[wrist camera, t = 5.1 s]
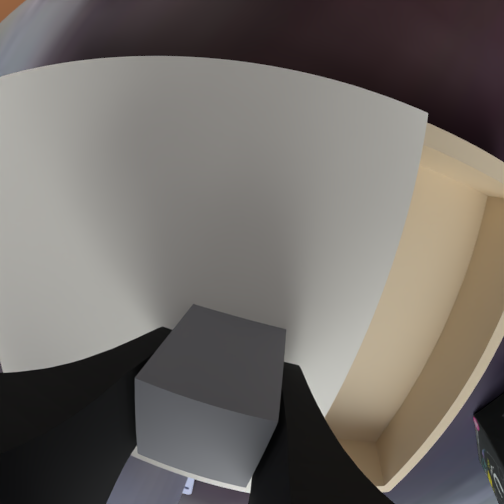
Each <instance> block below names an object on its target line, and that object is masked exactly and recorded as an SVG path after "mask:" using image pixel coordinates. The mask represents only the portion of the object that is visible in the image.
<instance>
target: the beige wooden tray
mask: <svg viewBox="0 0 504 504" xmlns="http://www.w3.org/2000/svg"><path fill="white" fill-rule="evenodd" d="M503 336H504V162H502V161H501V160H499V159H498V158H496V157H494V156H492V155H491V154H489V153H487V152H485V151H484V150H482V149H480V148H478V147H476V146H475V145H473V144H471V143H469V142H467V141H465V140H463V139H461V138H459V137H457V136H455V135H453V134H451V133H449V132H447V131H445V130H443V129H440V128H438V127H436V126H434V125H432V124H429V123H427V125H426V132H425V138H424V143H423V149H422V154H421V159H420V164H419V169H418V173H417V178H416V182H415V186H414V191H413V195H412V199H411V203H410V207H409V210H408V214H407V218H406V221H405V225H404V228H403V232H402V235H401V239H400V242H399V245H398V248H397V251H396V255H395V258H394V261H393V264H392V267H391V270H390V273H389V275H388V278H387V281H386V284H385V287H384V289H383V292H382V295H381V297H380V300H379V303H378V305H377V308H376V310H375V313H374V315H373V318H372V320H371V323H370V325H369V328H368V330H367V332H366V335H365V337H364V339H363V342H362V344H361V346H360V348H359V351H358V353H357V355H356V357H355V359H354V361H353V364H352V366H351V368H350V370H349V372H348V374H347V376H346V378H345V380H344V382H343V384H342V386H341V388H340V390H339V392H338V394H337V396H336V398H335V400H334V401H333V403H332V405H331V407H330V409H329V411H328V413H327V414H326V416H325V420H326V421H327V423H328V425H329V427H330V428H331V430H332V432H333V433H334V435H335V436H336V438H337V440H338V441H339V443H340V444H341V446H342V447H343V449H344V450H345V451H346V453H347V454H348V455H349V456H350V458H351V459H352V460H353V461H354V463H355V464H356V465H357V467H358V468H359V469H360V470H361V471H362V472H363V473H364V475H365V476H366V477H367V478H368V479H369V480H370V481H371V482H372V483H373V484H374V485H375V486H376V487H377V488H378V489H379V490H380V491H381V492H389V491H390V490H391V489H392V488H394V487H395V486H396V485H397V484H398V483H399V482H400V481H401V480H402V479H403V478H404V477H405V476H406V475H407V474H408V473H409V472H410V470H411V469H412V468H413V467H414V466H415V465H416V464H417V463H418V462H419V461H420V460H421V459H422V457H423V456H424V455H425V454H426V453H427V452H428V451H429V449H430V448H431V447H432V446H433V445H434V444H435V442H436V441H437V440H438V439H439V437H440V436H441V435H442V434H443V432H444V431H445V430H446V428H447V427H448V426H449V425H450V423H451V422H452V421H453V419H454V418H455V416H456V415H457V414H458V412H459V411H460V409H461V408H462V407H463V405H464V404H465V402H466V401H467V399H468V398H469V396H470V395H471V393H472V392H473V390H474V388H475V387H476V385H477V384H478V382H479V380H480V379H481V377H482V375H483V374H484V372H485V370H486V368H487V367H488V365H489V363H490V361H491V359H492V358H493V356H494V354H495V352H496V350H497V348H498V346H499V344H500V342H501V340H502V338H503Z"/></svg>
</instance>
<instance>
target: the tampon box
mask: <svg viewBox="0 0 504 504" xmlns="http://www.w3.org/2000/svg"><path fill="white" fill-rule="evenodd" d="M473 418H474V423H475V431H476V439H477V447H478V455H479V461H480V463H481V465H482V467H483V469H484V471H485V473H486V475H487V477H488V479H489V481H490V483H491V486H492V488H493V491H494V493H495V496H496V498H497V501H498V503H499V504H504V393H503V394H502V395H501V396H499V397H498V398H497V399H495V400H494V401H493V402H491V403H490V404H489V405H487V406H486V407H485V408H483V409H482V410H480V411H479V412H478V413H476V414H475V415H474V416H473Z"/></svg>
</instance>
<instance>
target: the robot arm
mask: <svg viewBox="0 0 504 504" xmlns="http://www.w3.org/2000/svg"><path fill="white" fill-rule="evenodd" d="M171 331H172V329H169V328H166V327H163V326H162V327H160V328H157V329H155V330H153V331H151V332H149V333H146V334H144V335H142V336H140V337H138V338H136V339H133V340H131V341H129V342H127V343H124V344H122V345H120V346H117V347H115V348H113V349H110V350H107V351H104V352H102V353H99V354H96V355H93V356H91V357H88V358H85V359H82V360H79V361H75V362H71V363H68V364H63V365H59V366H55V367H50V368H45V369H37V370H29V371H21V372H9V373H0V504H178V502H179V500H180V497H181V495H182V493H184V494H191V493H192V490H193V485H194V481H195V479H192V478H189V477H186V476H183V475H180V474H177V473H174V472H171V471H169V470H166V469H163V468H160V467H158V466H155V465H153V464H150V463H148V462H145V461H143V460H140V459H138V458H136V457H133V456H131V453H132V452H133V450H134V449H135V447H136V446H137V438H136V418H135V377H136V376H137V374H138V373H139V372H140V371H141V369H142V368H143V367H144V366H145V364H146V363H147V362H148V360H149V359H150V358H151V357H152V355H153V354H154V353H155V352H156V350H157V349H158V348H159V346H160V345H161V344H162V343H163V341H164V340H165V339H166V338H167V336H168V335H169V334H170V333H171ZM248 504H394V503H393V502H392V501H391V500H390V499H389V498H388V497H386V496H385V495H384V494H383V493H382V492H381V491H380V490H379V489H378V488H377V487H376V486H375V485H374V484H373V483H372V482H371V481H370V480H369V479H368V478H367V477H366V476H365V475H364V473H363V472H362V471H361V470H360V469H359V468H358V467H357V465H356V464H355V463H354V461H353V460H352V459H351V458H350V456H349V455H348V454H347V453H346V451H345V450H344V449H343V447H342V446H341V444H340V443H339V441H338V440H337V438H336V436H335V435H334V433H333V432H332V430H331V428H330V427H329V425H328V423H327V421H326V420H325V418H324V416H323V414H322V412H321V410H320V408H319V407H318V405H317V403H316V401H315V399H314V397H313V395H312V392H311V390H310V388H309V386H308V384H307V381H306V379H305V377H304V374H303V372H302V369H301V368H300V366H299V365H296V364H292V363H287V362H284V366H283V377H282V388H281V399H280V409H279V419H278V423H277V426H276V428H275V430H274V432H273V434H272V436H271V439H270V441H269V443H268V445H267V447H266V449H265V451H264V453H263V455H262V457H261V459H260V461H259V463H258V465H257V467H256V469H255V471H254V473H253V475H252V481H251V491H250V497H249V503H248Z"/></svg>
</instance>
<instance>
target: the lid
mask: <svg viewBox="0 0 504 504" xmlns="http://www.w3.org/2000/svg"><path fill="white" fill-rule="evenodd" d="M427 119H428V113H427V112H425V111H422V110H420V109H418V108H415V107H413V106H410V105H408V104H405V103H403V102H400V101H398V100H395V99H392V98H390V97H387V96H384V95H381V94H378V93H375V92H372V91H369V90H366V89H363V88H360V87H357V86H354V85H350V84H347V83H344V82H340V81H336V80H333V79H329V78H325V77H321V76H317V75H313V74H309V73H304V72H300V71H295V70H290V69H285V68H280V67H275V66H269V65H263V64H256V63H249V62H242V61H234V60H225V59H215V58H202V57H184V56H128V57H111V58H99V59H89V60H80V61H73V62H66V63H60V64H54V65H48V66H43V67H38V68H33V69H28V70H24V71H20V72H16V73H12V74H8V75H4V76H1V77H0V362H1V366H2V369H3V372H4V373H9V372H21V371H29V370H37V369H45V368H50V367H55V366H59V365H63V364H68V363H71V362H75V361H79V360H82V359H85V358H88V357H91V356H93V355H96V354H99V353H102V352H104V351H107V350H110V349H113V348H115V347H117V346H120V345H122V344H124V343H127V342H129V341H131V340H133V339H136V338H138V337H140V336H142V335H144V334H146V333H149V332H151V331H153V330H155V329H157V328H160V327H162V326H163V327H166V328H169V329H172V331H171V333H170V334H169V335H168V336H167V338H166V339H165V340H164V341H163V343H162V344H161V345H160V346H159V348H158V349H157V350H156V352H155V353H154V354H153V355H152V357H151V358H150V359H149V360H148V362H147V363H146V364H145V366H144V367H143V368H142V369H141V371H140V372H139V373H138V374H137V376H136V377H135V418H136V438H137V446H136V447H135V449H134V450H133V452H132V453H131V456H133V457H136V458H138V459H140V460H143V461H145V462H148V463H150V464H153V465H155V466H158V467H160V468H163V469H166V470H169V471H171V472H174V473H177V474H180V475H183V476H186V477H189V478H192V479H196V480H199V481H202V482H206V483H209V484H213V485H217V486H221V487H225V488H229V489H233V490H237V491H242V492H247V493H250V491H251V481H252V475H253V473H254V471H255V469H256V467H257V465H258V463H259V461H260V459H261V457H262V455H263V453H264V451H265V449H266V447H267V445H268V443H269V441H270V439H271V436H272V434H273V432H274V430H275V428H276V426H277V423H278V419H279V409H280V399H281V388H282V377H283V366H284V362H287V363H292V364H296V365H299V366H300V368H301V369H302V372H303V374H304V377H305V379H306V381H307V384H308V386H309V388H310V390H311V392H312V395H313V397H314V399H315V401H316V403H317V405H318V407H319V408H320V410H321V412H322V414H323V416H324V418H325V416H326V414H327V413H328V411H329V409H330V407H331V405H332V403H333V401H334V400H335V398H336V396H337V394H338V392H339V390H340V388H341V386H342V384H343V382H344V380H345V378H346V376H347V374H348V372H349V370H350V368H351V366H352V364H353V361H354V359H355V357H356V355H357V353H358V351H359V348H360V346H361V344H362V342H363V339H364V337H365V335H366V332H367V330H368V328H369V325H370V323H371V320H372V318H373V315H374V313H375V310H376V308H377V305H378V303H379V300H380V297H381V295H382V292H383V289H384V287H385V284H386V281H387V278H388V275H389V273H390V270H391V267H392V264H393V261H394V258H395V255H396V251H397V248H398V245H399V242H400V239H401V235H402V232H403V228H404V225H405V221H406V218H407V214H408V210H409V207H410V203H411V199H412V195H413V191H414V186H415V182H416V178H417V173H418V169H419V164H420V159H421V154H422V149H423V143H424V138H425V132H426V125H427Z"/></svg>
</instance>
